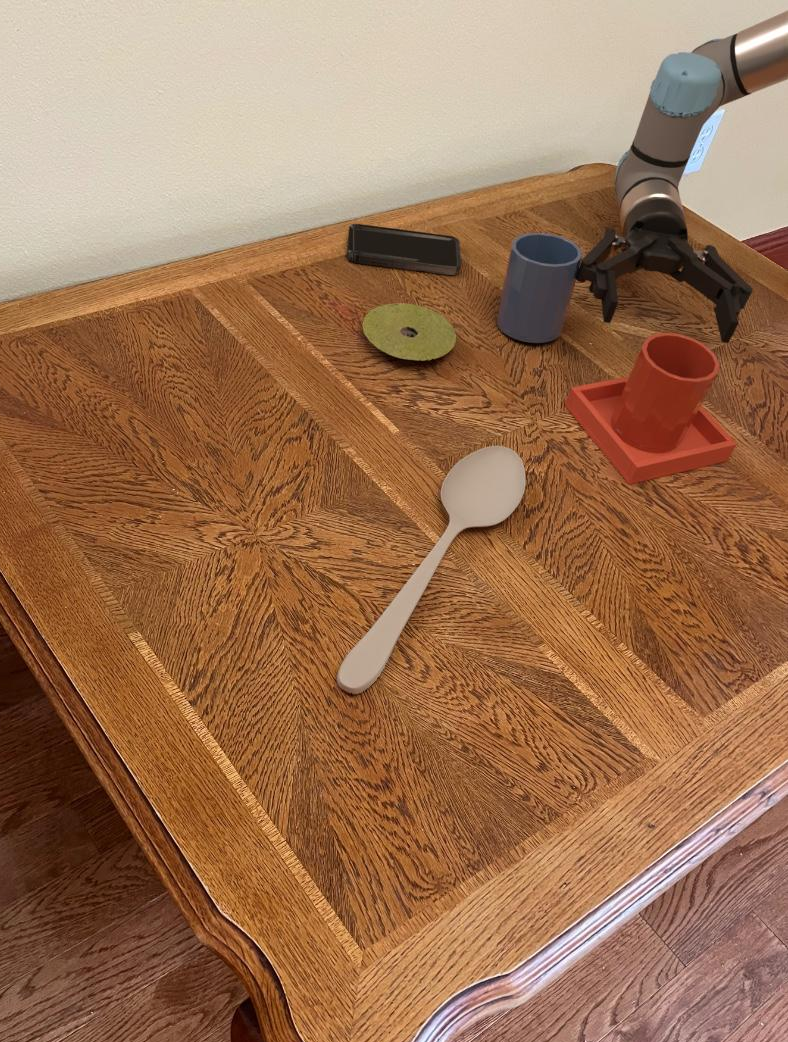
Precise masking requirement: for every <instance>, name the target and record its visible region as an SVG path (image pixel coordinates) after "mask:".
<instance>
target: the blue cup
mask: <svg viewBox="0 0 788 1042" xmlns="http://www.w3.org/2000/svg"><path fill="white" fill-rule="evenodd" d="M509 249H510V250H509V255H508V259H507V265H506V269H505V276H504V280H503V285H502V291H501V295H500V299H499V305H498V310H497V318H496V325H497V327H498V329H499V330H500V331H501V332H502V333H503V334H505V335H506V336H508V337H510V338H511V339H514V340H517V341H521V342H525V343H532V344H544V343H549V342H552V341H554V340H556V339H558V338H559V337H560V336H561V335H562V332H563V329H564V328H565V324H566V321H567V316H568V313H569V308H570V304H571V301H572V297H573V292H574V290H575V285H576V281H577V280H576V276H577V273H578V270H579V267H580V264H581V261H582V259H583V252H582V249H581V247H579V245H578V244H577V243H575V241H572V240H570V239H568V238H567V237H563V236H560V235H556V234H554V233H553V234H552V233H544V232H529V233H525V234H521V235H519V236H516V237H515V239H514V240H512V242H511V244H510V248H509Z"/></svg>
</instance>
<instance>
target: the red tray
mask: <svg viewBox="0 0 788 1042" xmlns="http://www.w3.org/2000/svg"><path fill="white" fill-rule="evenodd" d="M628 377H629V375H628V376H624V377H618V378H613V379H607V380H603V381H598V382H593V383H587V384H581V385H578V386H572V387H570V389H569V392H568V394H567V397H566V399H565V403H564V407H565V408H566V409H567V410H568V412H569V413H570V414H571V416H572V417H573V418H574V419H575V421H576V422H577V423H578V424H579V425H580V427H581V428H582V429H583V430H584V432H585V433H586V434H587V435H588V436H589V437H590V439H591V440H592V441H593V443H594V444H596V445H595V446H597V447H598V449H599V450H600V451H601V452H602V453H603V455H604V456H605V457H606V458H607V460H608V461H609V462H610V463H611V465H612V466H613V467H614V468H615V469H616V471H617V472H618V474H620V475H621V477H622V479H624V480H625V482H626V483H627V484H628V485H633V484H638V483H641V482H646V481H650V480H655V479H658V478H662V477H663V478H664V477H667V476H671V475H675V474H679V473H684V472H688V471H693V470H696V469H700V468H704V467H708V466H709V467H710V466H712V465H718V464H720V463H726V462H728V460H729V459H730V457H731V455H732V454H733V453H734V450H735V449H736V448H737V445H738V443H737V442H736V441H735V440H734V439H733V438H732V437H731V436H730V435H729V433H728V432H727V431H726V430H725V429H724V428H723V427H722V426H721V425H720V424H719V423H718V422H717V421H716V420H715V419H714V418H713V416H712V415H711V414H710V413H709V412H708V411H707V410H706V409H705V408H704V407H703V406H702V405H701V406H700V408H699V410H698V412H697V414H696V416H695V418H694V420H693V422H692V423H691V425H690V427H689V429H688V431H687V433H686V435H685V437H684V439H683V440H682V441H681V443H680V445H679V446H678V447H677V448H675V449H674V450H672V451H669V452H665V453H650V452H645V451H642V450H639V449H636V448H634V447H632V446H630V445H628V444H627V443H625V442H624V441H623V440H621V439H620V438H619V436H618V435H617V434H616V433H615V432H614V430H613V428H612V425H611V417H612V414H613V412H614V409H615V407H616V404H617V402H618V400H619V397H620V395H621V393H622V391H623V388H624V386H625V384H626V381H627V379H628Z"/></svg>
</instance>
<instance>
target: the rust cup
mask: <svg viewBox="0 0 788 1042" xmlns="http://www.w3.org/2000/svg"><path fill="white" fill-rule="evenodd" d="M720 367H721V365H720V361H719V360H718V357H717V355H716V354H715V353H714V352H713V351H712V350H711V349H710V348H709V346H707V345H705V344H704V343H702V342H700V341H699V340H697V339H695V338H693V337H690V336H687V335H684V334H681V333H673V332H661V333H655V334H651V335H650V336H649V337H647V338H646V339H644V340H643V343H642V345H641V347H640V350H639V352H638V354H637V356H636V359H635V361H634V364H633V366H632V368H631V370H630V372H629V375H628V376H629V377H628V376H627V377H628V379H627V381H626V384H625V386H624V388H623V391H622V393H621V395H620V397H619V400H618V402H617V404H616V407H615V409H614V412H613V414H612V417H611V425H612V428H613V430H614V432H615V433H616V434H617V435H618V436H619V438H620V439H621V440H623V441H624V442H625V443H627V444H628V445H630V446H632V447H634V448H636V449H639V450H642V451H645V452H650V453H665V452H669V451H672V450H674V449H675V448H677V447H678V446H679V445H680V443H681V441H682V440H683V439H684V437H685V435H686V433H687V431H688V429H689V427H690V425H691V423H692V422H693V420H694V418H695V416H696V414H697V412H698V410H699V408H700V406H702V405H703V403H704V400H705V399H706V397H707V395H708V393H709V391H710V389H711V387H712V385H713V384H714V383H715V381H716V378H717V376H718V374H719V370H720Z"/></svg>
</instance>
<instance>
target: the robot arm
mask: <svg viewBox="0 0 788 1042" xmlns="http://www.w3.org/2000/svg"><path fill="white" fill-rule="evenodd" d="M787 80H788V10H785V11H783V12H780V13H779V14H777V15H774V16H772V17H769V18H767V19H765V20H763V21H761V22H758V23H756V24H754V25H751V26H749V27H747V28H745V29H742V30H740V31H738V32H737V33H735V34H731V35H729V36H727V37H724V38H714V39H710V40H707V41H706V42H704V43H702V44H700V45H698V46H697V47H695V48H694V49H692V51H691V52H686V51H680V52H677V53H670V54H668V55H667V56H666V57H665V58H663V59H662V61H661V63H660V65H659V68H658V70H657V73H656V75H655V78H654V79H653V81H651V85H650V88H649V89H650V90H649V94H648V96H647V99H646V103H645V105H644V109H643V112H642V114H641V118H640V119H639V120H640V121H639V123H638V126H637V129H636V133H635V135H634V138H633V140H632V143H631V145H630V148H629V149H628V150H627V151H626V152H624V154H623V155H622V156H621V158H620V159H619V161H618V163H617V165H616V168H615V176H614V186H615V187H614V191H615V195H616V200H617V205H618V211H619V218H620V225H621V231H622V232H621V233H622V236H619V235H618V234H616V230H615V229H614V228H613V227H606V228H605V230H604V233H603V236H602V238H601V239H600V240H599V241H598V243H597V244H595V245H594V247H592V249H590V251H588V252H587V254H585V256H584V257H582V259H581V262H580V266H579V270H578V273H577V276H576V281H577V282H578V283H586V281H587V282H590V285H589V288H588V291H589V293H591V294H593V297H594V299H595V300H601V308H602V309H601V310H602V319H603V320H602V321H603V323H606V324H607V323H608V324H611V322H612V319H613V318H614V315H615V312H616V309H617V307H618V304H619V296H618V287H617V279H618V278H620V277H623V276H625V275H626V274H630V275H632V274H634V273H636V272H638V271H639V270H643V269H644V271H646V272H656V273H660V274H663V275H664V274H665V275H669V277H672V278H673V279H674V280H675V281H677V282H679V283H683V282H685V284H688V285H689V286H690V287H691V288H693V289H694V290H696V291H697V292H699V293H700V294H701V295H703V296H704V297H705V298H707V299H708V300H709V301H711V302H712V303H714V304H715V307H714V308H713V311H714V315H715V320H716V324H717V328H718V332H719V336H720V337H719V338H720V340H721V343H725V344H729V343H730V340H731V339H732V337H733V335H734V333H735V331H736V329H737V327H738V325H739V323H740V322H739V319H738V318H739V315H740V313H741V311H742V310H743V309H744V308H745V306H746V305H747V303H748V301H749V300H750V297H751V295H752V294H753V291H754V288H753V287H751V285H750V284H749V283H748V282H747V281H746V280H744V279H743V277H741V276H740V275H739V274H738V272H736V270H734V269H733V268H732V266H730V265H729V264H728V262H726V260H724V259H723V258H722V257H721V256H720V254H719V253H718V250H717V248H716V246H714V245H712V244H707V245H706V246H705V248H704V250H700V249H699V250H698V249H694V247H693V245H691V244H690V243H689V233H688V232H689V231H688V225H687V222H686V217H685V214H684V213H685V212H684V211H685V210H684V207H683V204H682V200H681V199H682V198H681V195H680V194H681V193H680V191H679V185H680V182H681V180H682V177H683V176H684V172H685V170H686V167H687V165H688V162H689V161H690V158H691V154H692V152H693V150H694V147H695V145H696V143H697V140H698V139H699V135H700V133H701V131H702V129H703V127H704V125H705V124H706V123H707V121H708V120H709V119H710V118H711V117H712V116H713V115H714V113H716V112H717V110H719V108H721V107H722V106H725V105H727V104H730V103H732V102H734V101H737V100H739V99H742V98H744V97H747V96H750V95H752V94H753V93H757V92H759V91H762V90H763V89H766V88H769V87H772V86H774V85H776V84H779V83H783V82H784V81H787ZM619 249H621V252H620V253H617V254H616V255H614V256H612V255H613V254H614V252H616V251H618V250H619ZM609 256H612V257H610V258H608V257H609ZM680 269H681V270H680Z"/></svg>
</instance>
